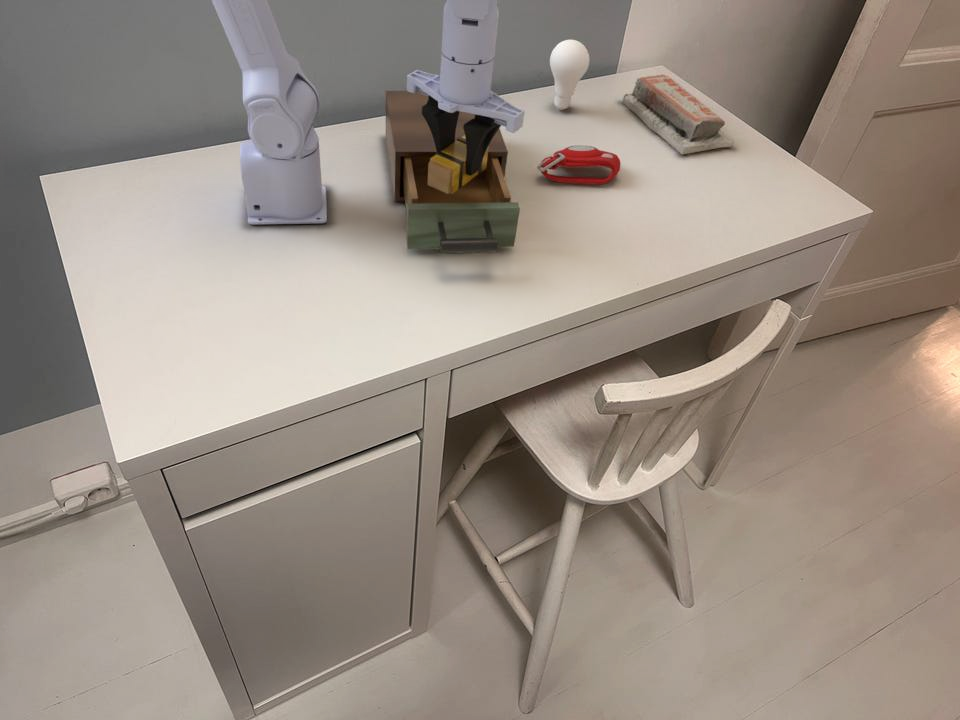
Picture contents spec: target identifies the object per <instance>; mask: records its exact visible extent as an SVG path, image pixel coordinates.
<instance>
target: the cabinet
mask: <svg viewBox="0 0 960 720" xmlns="http://www.w3.org/2000/svg"><path fill="white" fill-rule="evenodd" d="M427 101H428V96H426V95H424V94H421V93H419V92H416V93H411V92H408V91H407V90H385V144H386V152H387V157H388V167H389V172H390V179H391V186H392V193H393V200H394V202H395V203H405V198H404V192H403V186H402V180H401V162H402V156H435V155H436V153H437V151H436V146H435V142H434V139H433V136H432V133H431V130H430V128H429V126H428V124H427V122H426V120H425V118H424V117H423V115H422V107H423V106H424V105H426V104H427ZM474 118H475V115H474V114H471V113H465V112H459V116H458V121H457V126H456V132H455V142H456V141H457V138H459V137H463V136H464V135H465V133H464V129H463V125H464V124H465V123H467V122H468V121H470V120H471V119H474ZM508 154H509V151H508V148H507V146H506V143H505V140H504V137H503V134H502V131H501V129H500V128H499V129H498V131H497V132H496V134H495V135H494V137H493V138H492V140H491V142H490V144H489V147H488V156H497V158H498V161H499V164H500V167H501V170H502V172H503V175H504V178H505V177H506V169H507V162H508V161H507V160H508Z"/></svg>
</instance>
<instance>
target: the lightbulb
mask: <svg viewBox="0 0 960 720" xmlns="http://www.w3.org/2000/svg"><path fill="white" fill-rule="evenodd" d="M549 66H550V71H551V73H552V76H553V80H554V88H553V92H554V100H553V105H554V106H555V107H556V108H557V109H558V110H560V111H563V110H565V109H568V108H569V107H570V103H571V100H572V96H574V92H575V90H576V88H577V85H578V83H579V81H580V80H581V79H582V78H583V76H584V75H585V74H586V73H587V71H588V69H589V66H590V55H589V51H588V49H587V48H586V46H585V45H584V44H583V43H582V42H581V41H578V40H576V39H565V40H562V41H560V42H558V44H556V46H555V47H553V49H552V51H551V54H550V56H549Z"/></svg>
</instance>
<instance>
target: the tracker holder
mask: <svg viewBox="0 0 960 720" xmlns="http://www.w3.org/2000/svg"><path fill="white" fill-rule="evenodd" d="M559 166H560V167H562V168H588V167H589V168H590V167H605V168H607V169H610V170H611V172H610V174H609V176H605V177H604V176H603V177H599V176H598V177H597V176H573V175H572V176H571V175H569V176H567V175H555V174H551V173H548V170H552V171H553V170H557V169H558V167H559ZM536 169H537V170H538V171H539V172H540V173H541V174H542V175H543V176H544V177H545V178H546V179H548V180H551V181H553V182H558V183H564V184H565V183H566V184H585V185H603V184H606V183H608V182H610V181H611V180H613V179H614V178H615V177H616V176H618V173H619V172H620V170H621V160H620V157H619V155H617V154H615V153H613V152H610V151H606V150H600V149H598V148H597V147H594V146H591V145H570V146H568V147H565V148H563V149H561V150H557V151H555V152H554V153H553V156H547V157H544V159H542V160H541V162H540V163H539V164H538V165H537V166H536Z"/></svg>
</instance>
